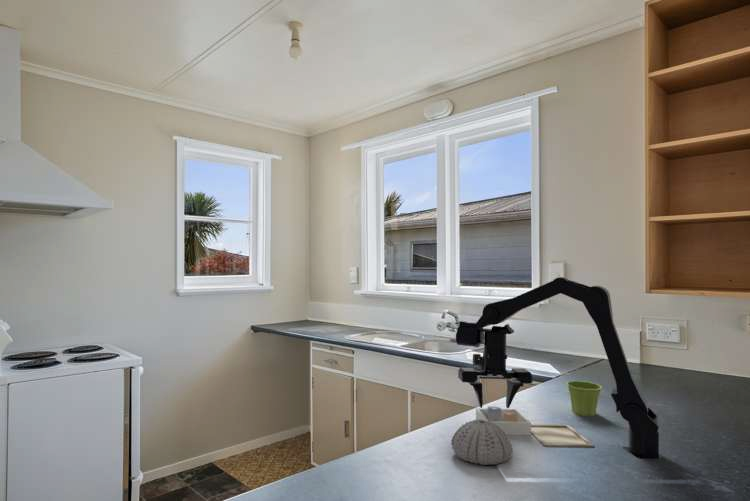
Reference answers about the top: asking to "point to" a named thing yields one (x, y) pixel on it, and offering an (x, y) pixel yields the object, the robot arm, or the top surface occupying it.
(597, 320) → the robot arm
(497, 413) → the slate pebble
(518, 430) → the square storage bin
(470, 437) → the sea urchin shell
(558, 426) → the parts tray
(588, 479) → the top surface
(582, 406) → the plant pot
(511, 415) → the peach rounded cylinder
